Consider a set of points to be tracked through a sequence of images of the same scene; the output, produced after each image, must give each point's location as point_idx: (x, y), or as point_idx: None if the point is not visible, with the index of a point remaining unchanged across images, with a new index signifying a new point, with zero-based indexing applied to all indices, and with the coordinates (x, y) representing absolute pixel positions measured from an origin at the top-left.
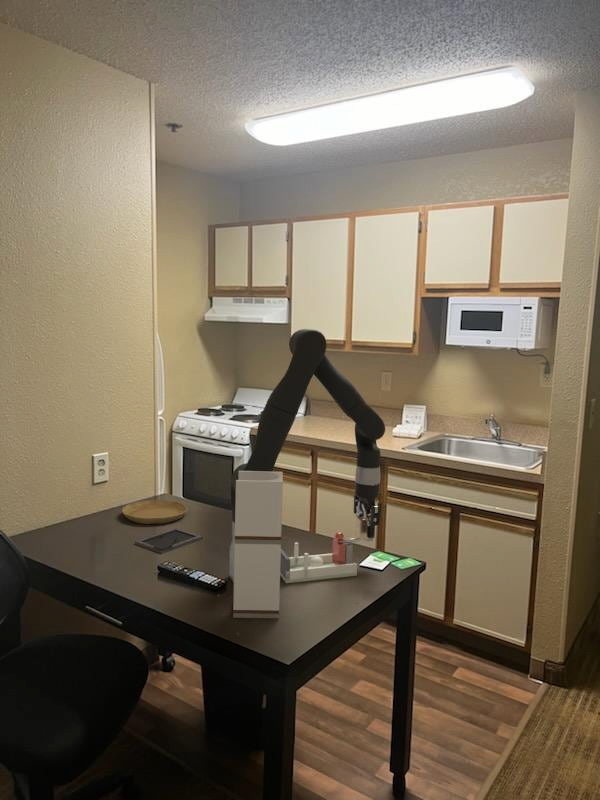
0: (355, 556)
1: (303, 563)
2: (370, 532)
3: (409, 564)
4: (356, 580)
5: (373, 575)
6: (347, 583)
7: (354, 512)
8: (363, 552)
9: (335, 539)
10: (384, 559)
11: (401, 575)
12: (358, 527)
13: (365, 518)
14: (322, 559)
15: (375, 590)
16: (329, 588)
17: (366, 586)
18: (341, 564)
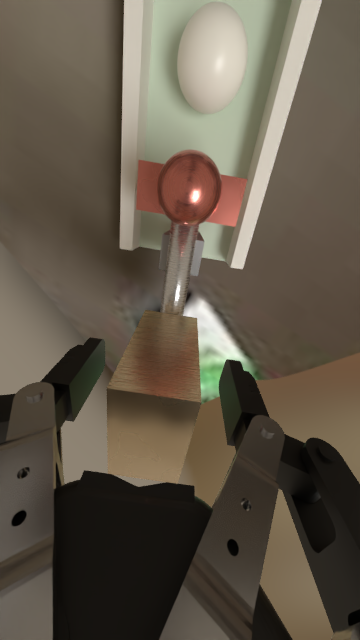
0: (258, 321)
1: (286, 26)
2: (60, 361)
3: None
4: (97, 220)
5: (119, 290)
6: (80, 172)
7: (318, 448)
8: (268, 354)
9: (233, 193)
10: (201, 370)
11: None
12: (155, 346)
13: (50, 428)
14: (256, 154)
15: (18, 234)
16: (48, 59)
17: (49, 224)
18: (134, 180)
